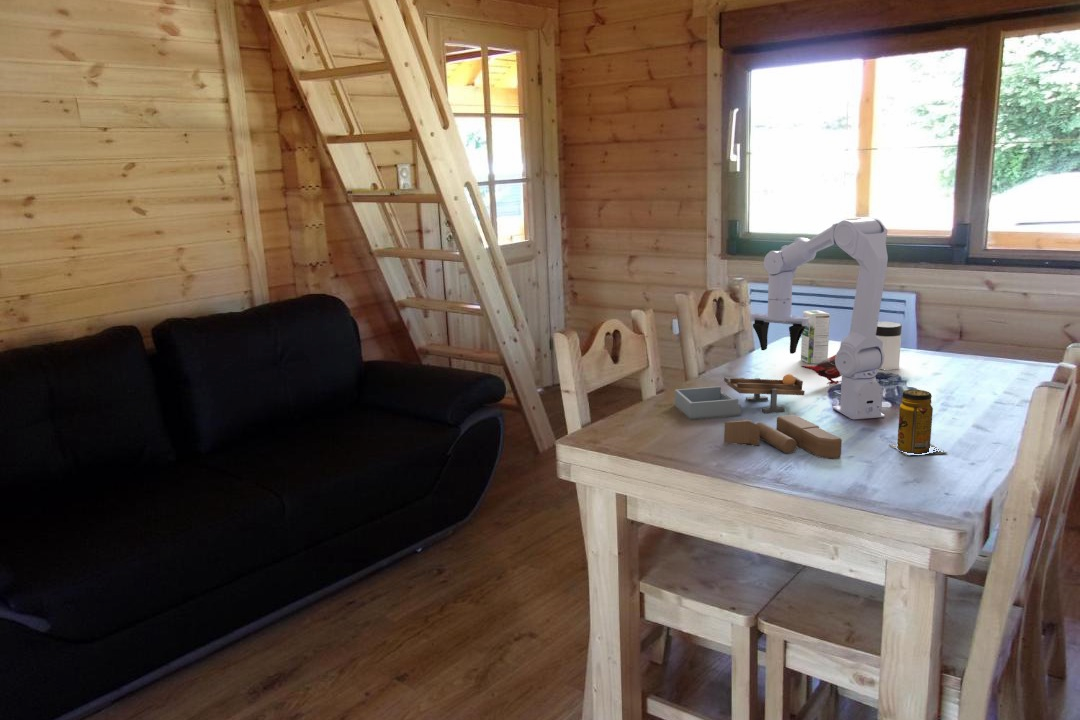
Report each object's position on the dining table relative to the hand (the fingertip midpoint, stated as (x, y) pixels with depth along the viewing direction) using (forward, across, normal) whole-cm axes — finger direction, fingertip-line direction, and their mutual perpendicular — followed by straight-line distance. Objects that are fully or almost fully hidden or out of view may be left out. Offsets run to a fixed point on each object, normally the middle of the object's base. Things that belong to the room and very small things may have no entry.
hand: (778, 351), depth 213 cm
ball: (+4, -8, +12) cm, 15 cm away
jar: (+10, -16, -35) cm, 40 cm away
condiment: (+10, -42, +29) cm, 52 cm away
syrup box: (+10, +2, -32) cm, 34 cm away
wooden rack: (+6, -2, +15) cm, 17 cm away
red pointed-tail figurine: (+10, -10, -9) cm, 17 cm away
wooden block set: (+10, -19, +43) cm, 48 cm away
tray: (+10, +6, +27) cm, 29 cm away
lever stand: (+10, -4, +16) cm, 20 cm away
